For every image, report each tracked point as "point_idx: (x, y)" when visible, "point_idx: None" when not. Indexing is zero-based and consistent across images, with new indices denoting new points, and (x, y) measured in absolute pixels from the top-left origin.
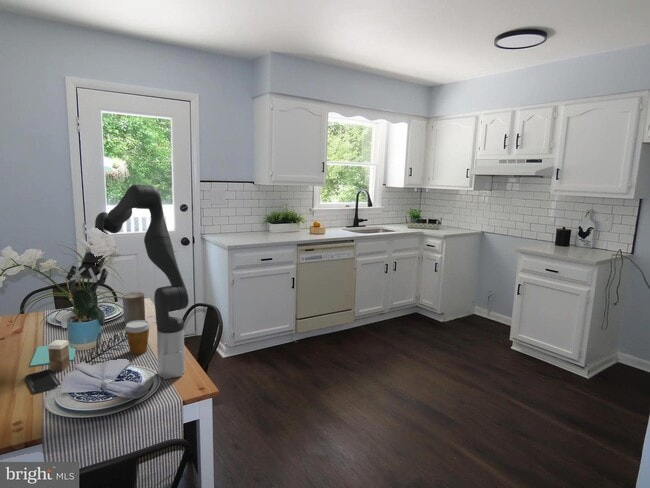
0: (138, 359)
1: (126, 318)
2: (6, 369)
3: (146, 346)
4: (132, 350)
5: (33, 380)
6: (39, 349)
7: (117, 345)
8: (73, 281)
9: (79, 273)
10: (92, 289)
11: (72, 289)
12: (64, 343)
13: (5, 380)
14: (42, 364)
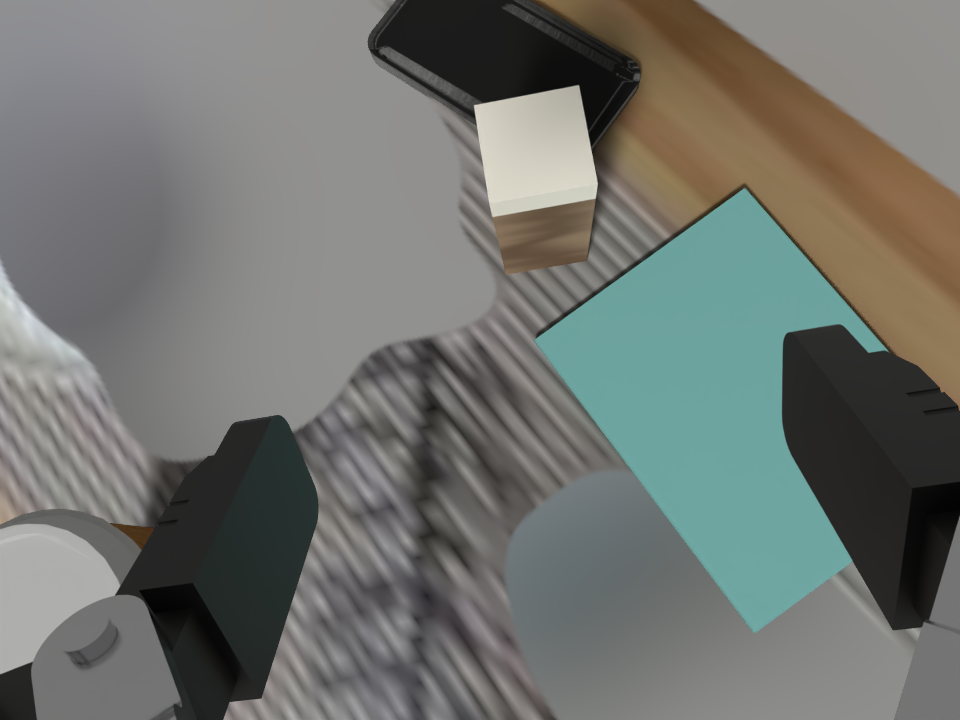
0: (126, 467)
1: None
2: (855, 125)
3: None
4: None
5: (549, 44)
6: None
7: (401, 660)
8: (906, 509)
9: None
10: (227, 465)
11: (800, 451)
12: (482, 157)
13: (723, 21)
14: (685, 232)
